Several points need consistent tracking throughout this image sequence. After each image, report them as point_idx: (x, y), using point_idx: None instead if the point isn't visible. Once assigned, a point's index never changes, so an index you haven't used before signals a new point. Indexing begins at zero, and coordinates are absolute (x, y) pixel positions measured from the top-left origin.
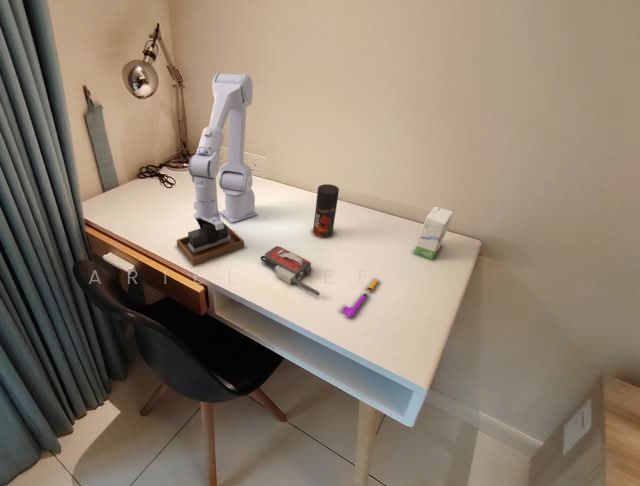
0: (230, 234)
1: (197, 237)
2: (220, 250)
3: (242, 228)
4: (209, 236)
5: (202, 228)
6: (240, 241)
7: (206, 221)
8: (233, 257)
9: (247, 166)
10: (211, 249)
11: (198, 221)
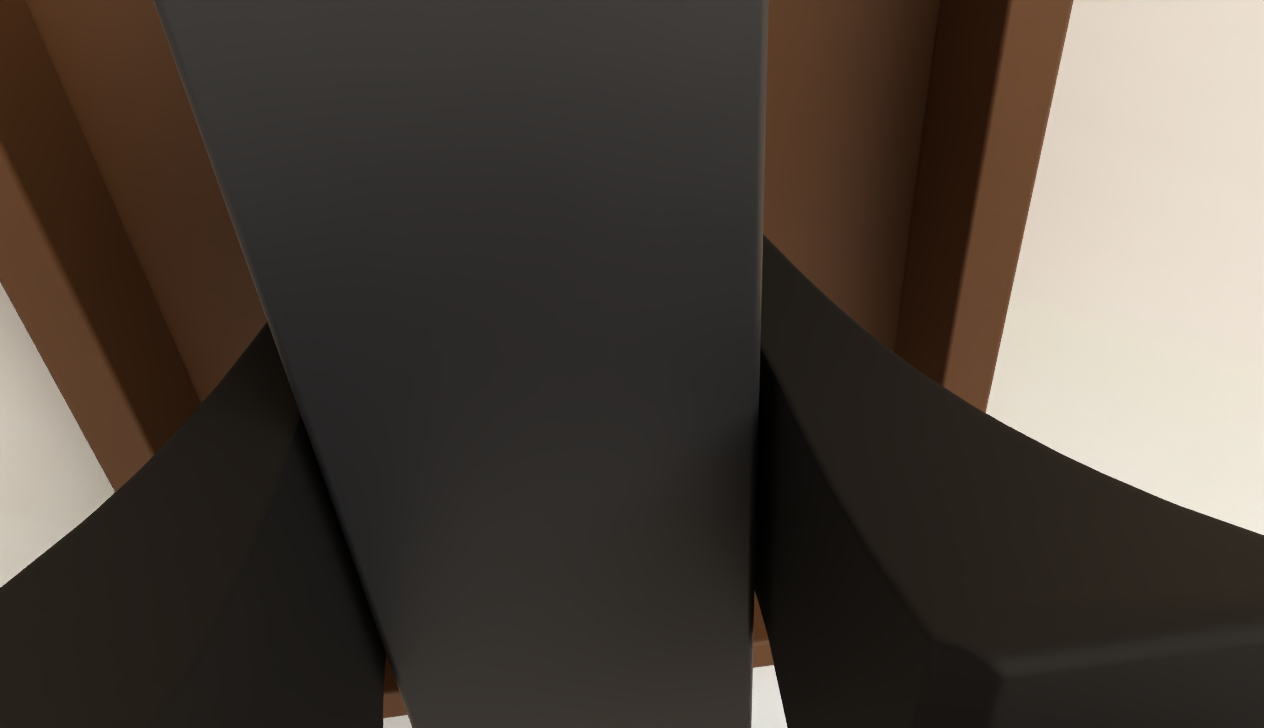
0: None
1: (188, 66)
2: (49, 357)
3: (774, 705)
4: (165, 451)
5: (701, 415)
6: None
7: (821, 695)
8: (9, 431)
9: None
10: None
11: (882, 577)
